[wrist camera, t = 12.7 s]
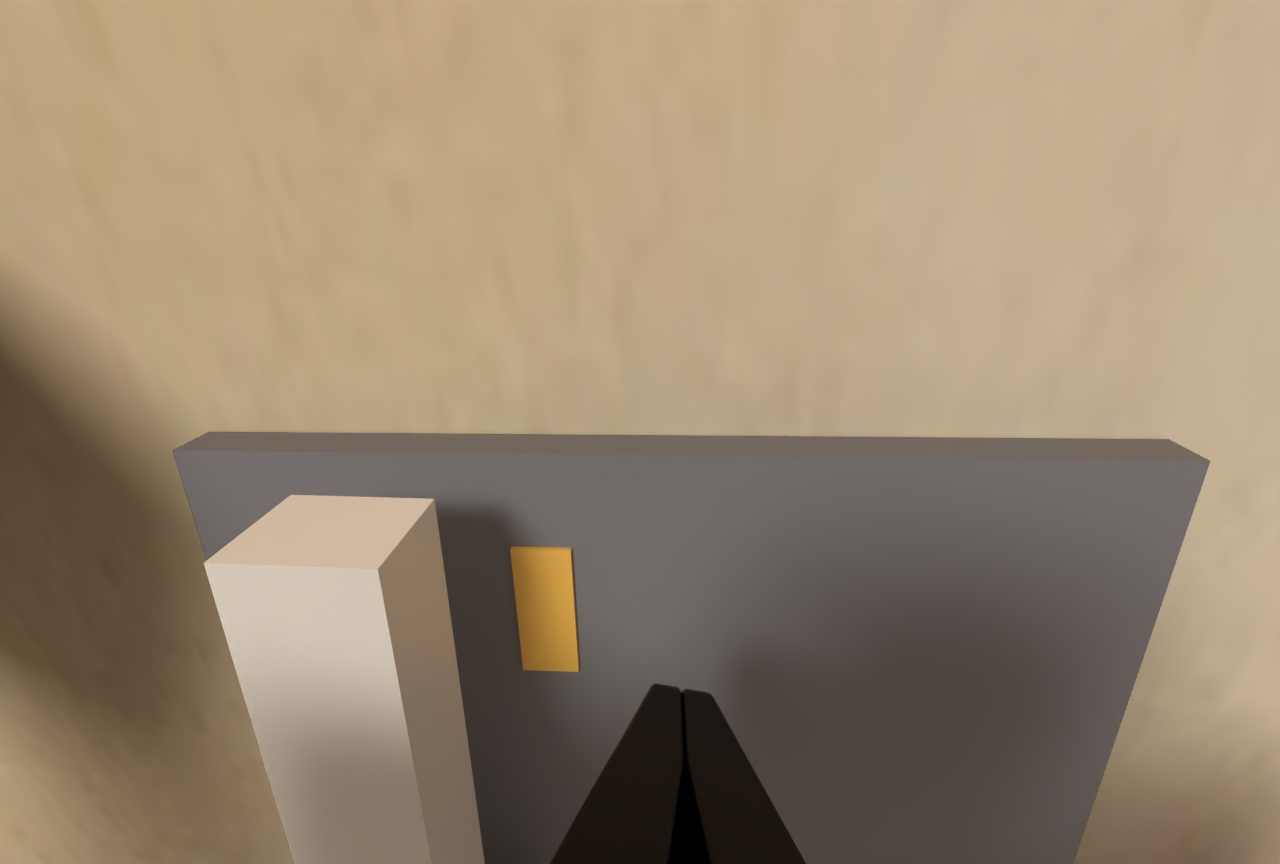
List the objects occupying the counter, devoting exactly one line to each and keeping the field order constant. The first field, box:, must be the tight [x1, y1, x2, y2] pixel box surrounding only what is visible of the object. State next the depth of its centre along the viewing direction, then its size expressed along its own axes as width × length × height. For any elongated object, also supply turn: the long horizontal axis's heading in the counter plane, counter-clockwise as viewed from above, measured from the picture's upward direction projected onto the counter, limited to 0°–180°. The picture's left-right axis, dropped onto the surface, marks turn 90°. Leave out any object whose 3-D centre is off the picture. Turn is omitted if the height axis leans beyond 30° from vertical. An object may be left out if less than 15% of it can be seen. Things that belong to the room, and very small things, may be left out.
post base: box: [173, 432, 1210, 864], centre depth 15 cm, size 19×19×2 cm
